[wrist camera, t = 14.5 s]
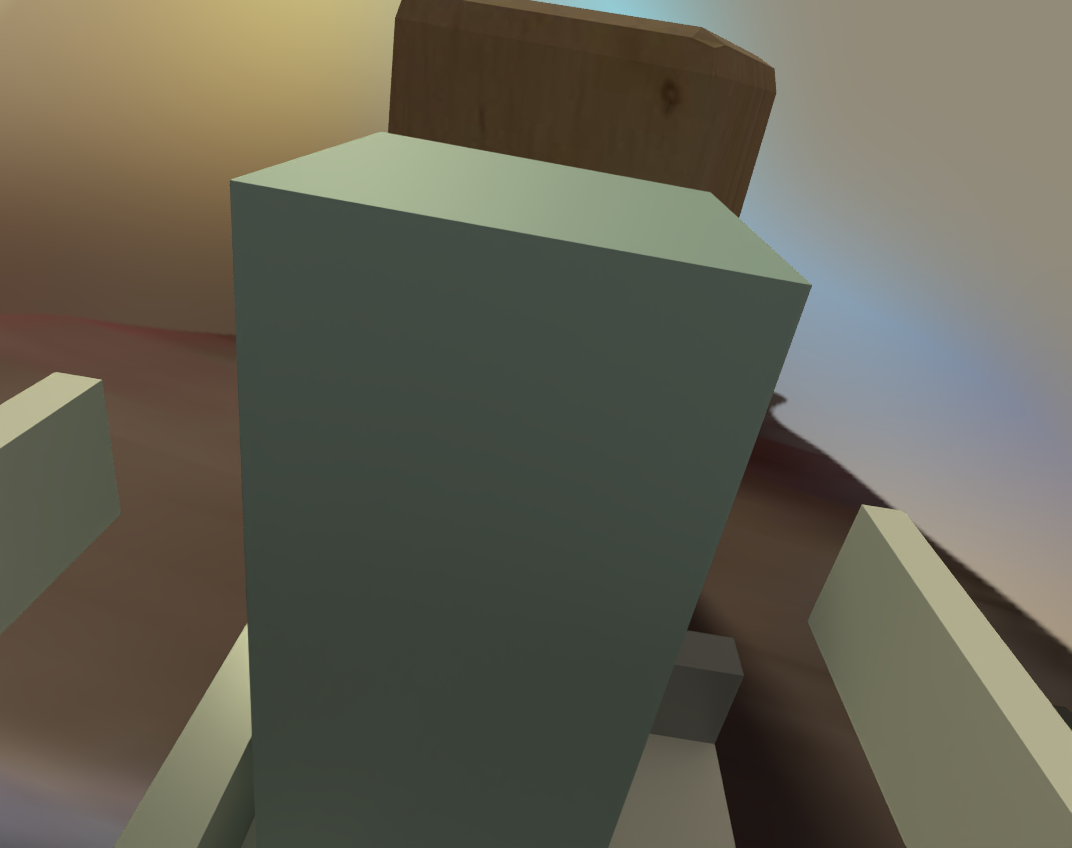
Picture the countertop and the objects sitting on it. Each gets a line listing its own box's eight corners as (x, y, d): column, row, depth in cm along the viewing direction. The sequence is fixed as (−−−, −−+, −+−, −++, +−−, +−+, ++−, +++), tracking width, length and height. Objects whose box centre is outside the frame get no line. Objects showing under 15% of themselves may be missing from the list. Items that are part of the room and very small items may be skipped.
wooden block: (570, 650, 25) (733, 28, 16) (352, 542, 28) (382, -27, 19) (651, 521, 33) (789, 63, 24) (475, 449, 37) (538, 21, 27)
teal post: (261, 978, 14) (229, 180, 7) (347, 731, 20) (380, 131, 12) (545, 1019, 14) (811, 285, 7) (554, 763, 20) (711, 192, 12)
